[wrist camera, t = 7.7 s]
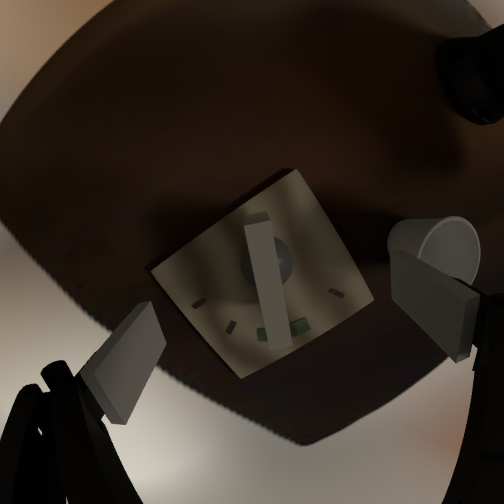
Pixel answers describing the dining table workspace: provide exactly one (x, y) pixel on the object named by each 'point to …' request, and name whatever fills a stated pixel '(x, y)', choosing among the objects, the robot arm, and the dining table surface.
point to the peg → (268, 275)
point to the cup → (439, 244)
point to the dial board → (246, 296)
